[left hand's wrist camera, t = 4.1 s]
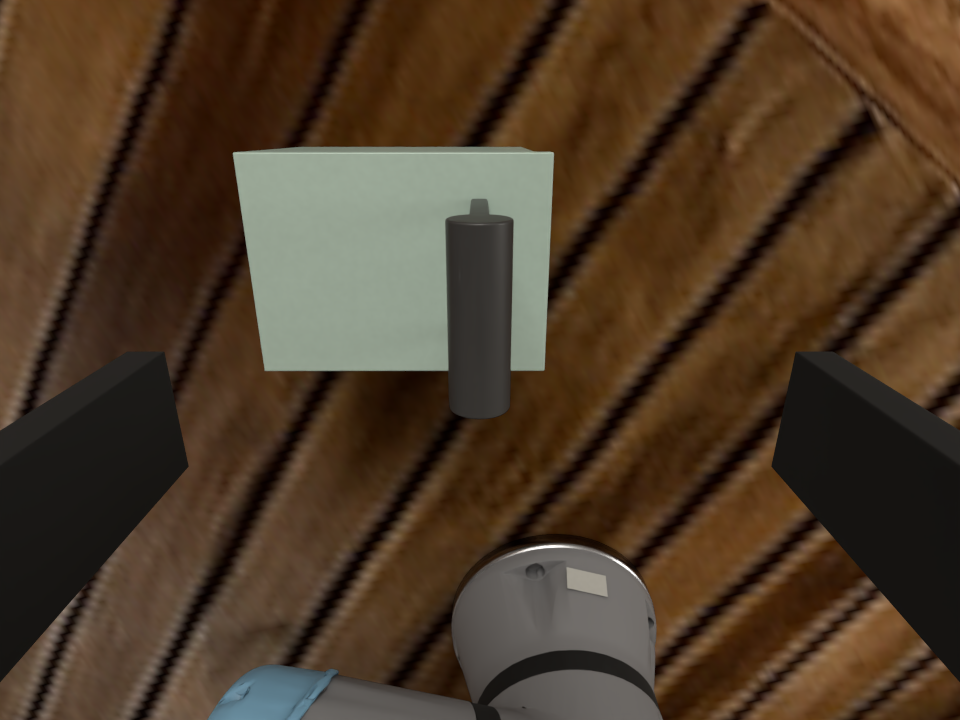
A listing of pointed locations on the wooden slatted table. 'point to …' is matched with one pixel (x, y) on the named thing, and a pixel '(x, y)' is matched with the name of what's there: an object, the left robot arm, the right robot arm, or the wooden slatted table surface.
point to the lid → (402, 264)
